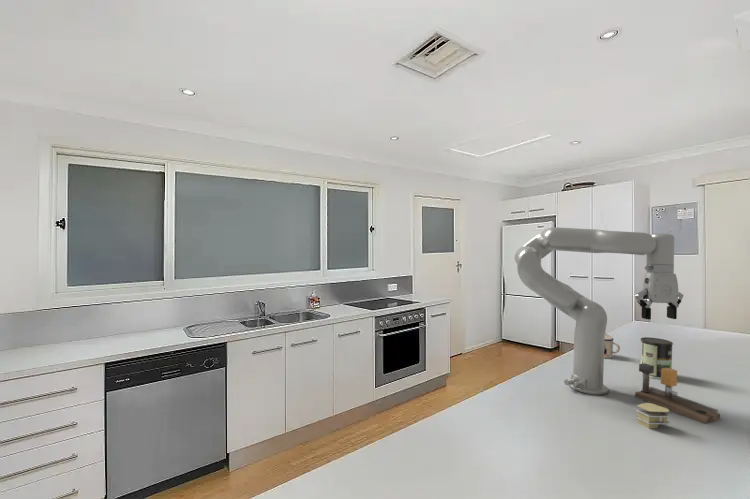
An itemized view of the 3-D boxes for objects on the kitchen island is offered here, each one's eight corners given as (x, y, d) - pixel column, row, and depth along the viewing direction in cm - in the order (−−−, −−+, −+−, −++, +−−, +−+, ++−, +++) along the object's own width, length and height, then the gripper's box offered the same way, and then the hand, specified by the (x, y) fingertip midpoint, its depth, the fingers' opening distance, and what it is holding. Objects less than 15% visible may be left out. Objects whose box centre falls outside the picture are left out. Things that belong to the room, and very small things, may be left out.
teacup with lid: (586, 354, 175) (587, 330, 175) (595, 351, 180) (596, 327, 180) (615, 361, 165) (615, 335, 165) (623, 358, 171) (624, 333, 170)
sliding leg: (670, 401, 119) (671, 371, 119) (660, 397, 122) (661, 368, 122) (679, 399, 121) (680, 369, 121) (669, 395, 124) (670, 366, 124)
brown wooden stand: (705, 423, 109) (706, 387, 109) (633, 396, 128) (634, 365, 128) (720, 418, 112) (721, 383, 112) (648, 392, 131) (649, 362, 131)
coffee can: (671, 374, 150) (672, 340, 150) (671, 381, 142) (673, 345, 141) (639, 368, 156) (641, 335, 156) (639, 375, 148) (640, 340, 148)
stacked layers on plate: (654, 436, 102) (655, 416, 102) (624, 421, 110) (625, 402, 110) (681, 432, 104) (682, 412, 104) (650, 417, 113) (650, 399, 113)
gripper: (646, 270, 123) (645, 321, 123) (692, 270, 125) (691, 320, 125) (628, 268, 130) (627, 316, 131) (672, 268, 132) (671, 316, 133)
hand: (658, 318), depth 128 cm, fingers open, 9 cm apart
